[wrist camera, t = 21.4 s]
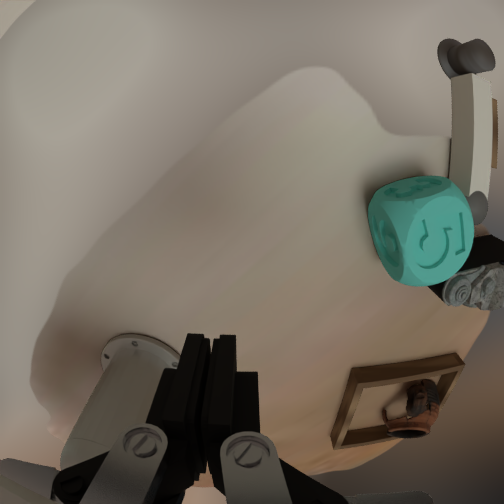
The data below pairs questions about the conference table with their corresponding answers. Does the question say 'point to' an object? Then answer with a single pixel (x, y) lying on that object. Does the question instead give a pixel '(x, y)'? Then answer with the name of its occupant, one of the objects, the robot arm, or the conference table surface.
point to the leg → (472, 141)
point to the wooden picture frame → (387, 375)
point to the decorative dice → (421, 229)
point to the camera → (477, 277)
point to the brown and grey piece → (470, 70)
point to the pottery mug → (416, 412)
